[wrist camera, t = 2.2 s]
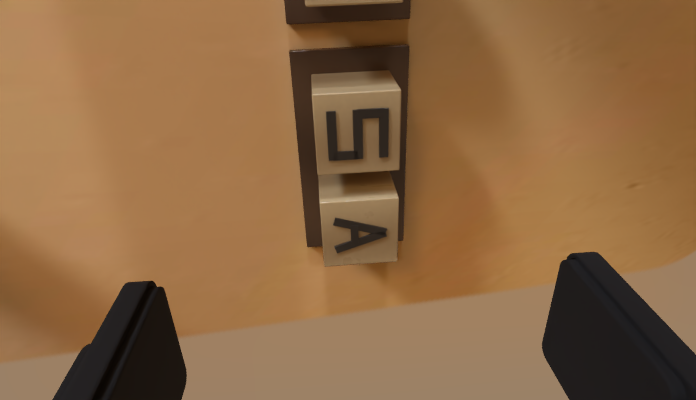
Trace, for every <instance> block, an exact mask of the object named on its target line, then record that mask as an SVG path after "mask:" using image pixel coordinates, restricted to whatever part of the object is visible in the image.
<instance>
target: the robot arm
mask: <svg viewBox="0 0 696 400" xmlns="http://www.w3.org/2000/svg"><path fill="white" fill-rule="evenodd" d="M542 349H543V353H544V356H545V358H546V360H547V362H548V364H549V365H550V367H551V369H552V370H553V372H554V374H555V376H556V377H557V379H558V381H559V383H560V384H561V386H562V388H563V390H564V391H565V393H566V395H567V396H568V398H569V400H696V355H695V353H694V352H693V351H692V350H691V349H690V348H689V347H688V346H687V345H686V344H685V343H684V342H683V341H682V340H681V339H680V338H679V337H678V336H677V335H676V334H675V333H674V332H673V330H672V329H671V328H670V327H669V326H668V325H667V324H666V323H665V322H664V321H663V320H662V319H661V318H660V317H659V316H658V315H657V314H656V313H655V312H654V311H653V310H652V309H651V308H650V307H649V305H648V304H647V303H646V302H645V301H644V300H643V299H642V298H641V297H640V296H639V295H638V294H637V293H636V292H635V291H634V290H633V289H632V288H631V286H629V284H628V283H626V281H625V280H624V279H623V278H622V277H621V276H620V275H619V274H618V273H617V272H616V271H615V270H614V269H613V268H612V267H611V266H610V265H609V263H608V262H607V261H606V260H605V259H604V258H603V257H602V256H601V255H600V254H598V253H597V252H585V253H572V254H570V255H569V256H568V257H567V260H563V261H562V262H561V264H560V268H559V272H558V276H557V281H556V285H555V290H554V294H553V298H552V302H551V307H550V311H549V315H548V320H547V324H546V328H545V333H544V337H543V342H542ZM186 376H187V375H186V367H185V364H184V360H183V356H182V352H181V349H180V345H179V341H178V338H177V334H176V330H175V327H174V323H173V319H172V316H171V312H170V308H169V305H168V301H167V297H166V294H165V290H164V288H163V287H157V286H156V284H155V283H154V282H153V281H142V282H128V283H126V284H125V285H124V286H123V288H122V289H121V291H120V293H119V295H118V296H117V298H116V300H115V302H114V304H113V305H112V307H111V309H110V311H109V313H108V314H107V316H106V318H105V320H104V321H103V323H102V325H101V327H100V329H99V330H98V332H97V334H96V336H95V338H94V339H93V341H92V343H91V344H88V345H86V346H85V347H84V348H83V349H82V350H81V352H80V353H79V355H78V356H77V358H76V360H75V361H74V363H73V365H72V367H71V368H70V370H69V372H68V374H67V376H66V377H65V379H64V381H63V382H62V384H61V386H60V388H59V390H58V391H57V393H56V395H55V396H54V398H53V400H181V399H182V395H183V392H184V389H185V385H186Z"/></svg>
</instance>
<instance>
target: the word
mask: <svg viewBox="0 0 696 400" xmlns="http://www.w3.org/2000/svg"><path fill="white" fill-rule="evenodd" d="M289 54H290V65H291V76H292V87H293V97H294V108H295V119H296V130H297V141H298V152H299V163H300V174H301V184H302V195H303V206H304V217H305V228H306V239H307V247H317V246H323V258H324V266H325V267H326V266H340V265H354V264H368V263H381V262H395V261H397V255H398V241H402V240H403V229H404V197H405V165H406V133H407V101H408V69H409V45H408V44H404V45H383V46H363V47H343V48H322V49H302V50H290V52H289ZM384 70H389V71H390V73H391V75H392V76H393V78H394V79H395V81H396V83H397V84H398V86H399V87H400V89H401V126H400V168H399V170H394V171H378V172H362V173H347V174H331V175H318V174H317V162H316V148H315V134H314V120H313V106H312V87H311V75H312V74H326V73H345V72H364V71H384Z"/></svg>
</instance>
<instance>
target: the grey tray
mask: <svg viewBox="0 0 696 400" xmlns="http://www.w3.org/2000/svg"><path fill="white" fill-rule="evenodd" d="M284 1H285V12H286V23H287V24H305V23H327V22H348V21H370V20H391V19H409V18H410V0H284Z"/></svg>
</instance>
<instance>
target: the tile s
mask: <svg viewBox="0 0 696 400" xmlns="http://www.w3.org/2000/svg"><path fill="white" fill-rule="evenodd" d="M311 87H312V106H313V120H314V134H315V148H316V162H317V174H318V175H331V174H347V173H362V172H378V171H394V170H399V168H400V126H401V89H400V87H399V86H398V84H397V83H396V81H395V79H394V78H393V76H392V75H391V73H390V71H389V70H384V71H364V72H345V73H326V74H312V75H311Z"/></svg>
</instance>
